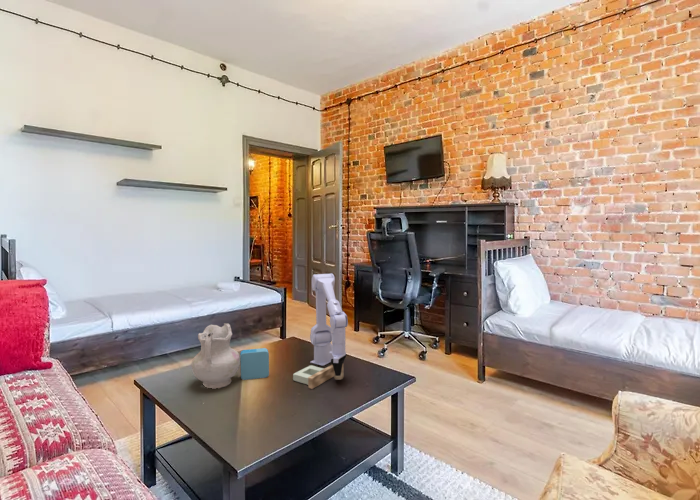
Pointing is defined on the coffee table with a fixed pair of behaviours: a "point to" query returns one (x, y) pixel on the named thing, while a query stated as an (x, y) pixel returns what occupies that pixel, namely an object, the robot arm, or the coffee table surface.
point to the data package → (254, 363)
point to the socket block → (306, 374)
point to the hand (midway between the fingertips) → (338, 373)
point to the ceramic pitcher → (215, 357)
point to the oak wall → (320, 377)
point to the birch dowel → (340, 375)
